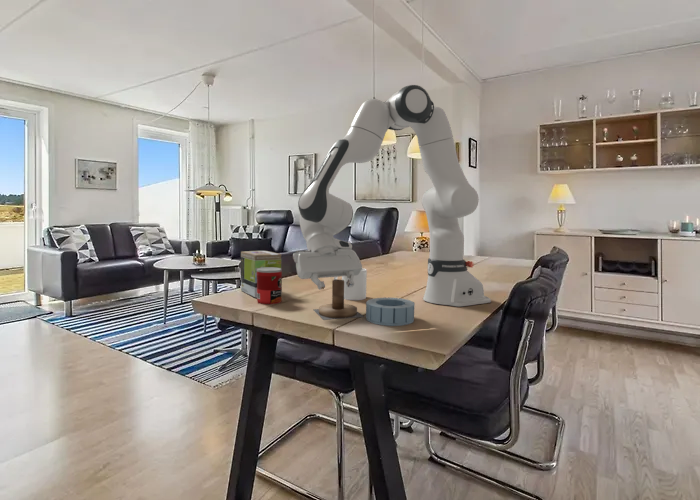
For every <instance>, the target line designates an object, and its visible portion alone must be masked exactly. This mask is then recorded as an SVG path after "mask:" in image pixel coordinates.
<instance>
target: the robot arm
mask: <svg viewBox="0 0 700 500" xmlns="http://www.w3.org/2000/svg"><path fill="white" fill-rule="evenodd" d="M409 127H410V128H412V130H413V131H414V133H415V135H416V137H417V138H416V139H417V145H418V149H419V154H420V158H421V162H422V166H423V170H424V172H425V173H426V174H427V176H428V177H429V178H430V180H431V183H432V184H433V185H432V187H430V188H428V189H427V190H426V191H425V192H424V193H423V194H422V198H421V205H422V208H423V210H424V211H425V214H426V215H425V216H426V221H427V225H428V231H429V255H428V259H427V281H426V288H425V291H424V294H423V298H422V300H423V301H425V302H427V303H431V304H437V305H444V306H452V307H457V308H458V307H467V306H468V307H469V306H474V305H480V304H481V305H482V304H487V303H488V304H489V303H491V302H492V300H491V298H490V297H489V296H486V295H485V289H484V286H483V283H482V282H481V281H480V280H479V279H478V278H477V277H476V276H474V275H473V274H472V273H471V272H470V271H469V270H468V268H473V267H474V265H475V263H474V262H473V261H471V260H467V261H466V260H465V259H464V250H465V249H464V247H465V245H464V243H465V236H464V233H463V232H462V230H461V228H460V224H459V220H458V219H460V218H464V217H467V216H469V215H471V214H473V213H474V212H475V211H476V210H477V208H478V206H479V200H480V199H479V194H478V192H477V190H476V189H475V188H474V187H473V186H472V185H471V184H470V183H469V181H468V179H467V178H466V175H465V174H464V172H463V170H462V167H461V165H460V162H459V159H458V154H457V149H456V145H455V141H454V136H453V132H452V129H451V124H450V122H449V118H448V115H447V114H446V112H445V111H444V109H443V108H441V107H439V106H435V104H434V102H433V100H432V99H431V97H430V95H429V93H428V92H427V90H426V89H425V88H424V87H423V86H421V85H418V84H409V85H406V86H404V87H402V88H401V89H399V90H398V91H396V92H394V93H393V94H392V95H391V96H390V97H389V98H388V99H386V100H385V101H383V100H380V99H377V98H369V99H366V100H365V101H363V103H361V105H360V107H359V108H358V110H357V112H356V114H355V115H354V117H353V118H352V121H351V123H350V126H349V128H348V130H347V132H346V134H345V135H344V137H343V138H341V139H337V141H336V140H335V142H334V143H333V145H332V146H331V147H330V149H329V150H328V152H327V154H326V155H325V157H324V158H323V160H322V162H321V164H320V165H319V167H318V169H317V170H316V172H315V174H314V176H313V178H312V180H311V181H310V183H309V184H308V186H307V187H306V188H305V190H303V192H302V193H301V195H300V196H299V198H298V202H297V203H298V205H297V207H298V212H299V227H300V230H301V231H300V232H301V235H302V236H303V239H304V241H305V242H306V248H307V249H305V250H296V251H295V252H293V254H292V259H293V261H294V263H295V268H296V274H297V277H298V278H299V279H300V280H307V279H310V280H311V282H312V283H313V284H314V285H316V286H317V289H318V290H325V288H326V284H325V281H324V280H320V279H322V278H334V277H337V278H339V277H342V276H347V278H349V279H348V281H347V283H346V284H347V285H348V287H353V286H354V282H353V277H354V276H355V275H358V274H359V273H360V271H361V269H362V268H363V264H362V262H361V260H360V258H359V256H358V254H357V253H356V251H355V250H354V249H352V248H353V245H352V243H351V242H349V241H344V240H341V239H338V238H336V237H334V236H336V235H338V234H340V233H341V232H343V231H344V230H346V229H347V228H348V227H349V226H350V225H351V223H352V221H353V219H354V218H353V217H354V211H353V207H352V205H351V204H350V203H349V202H347V201H346V200H344V199H341V198H340V197H337V196H335V195H333V194H332V193H330V188H331V186H332V184H333V183H334V180H335V179H336V177H337V175H338V174H339V172H340V170H341V168H343V166H345V165H347V164H352V163H355V164H365V163H368V162H370V161H372V160H373V159H375V157H376V156H377V155H378V153H379V152H380V149H381V146H382V144H383V141H384V139H385V137H386V133H387V132H388V130H391V131H401V130H404V129H407V128H409Z"/></svg>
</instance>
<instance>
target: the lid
mask: <svg viewBox="0 0 700 500" xmlns="http://www.w3.org/2000/svg"><path fill="white" fill-rule="evenodd" d="M331 282H332V283H331V284H332V288H331V289H332V290H331V291H332V292H331V293H332V294H331V299H332V300H331V303H329V304H328V303H325V304H322V305H320V306H319V307H318V309H319V314H320V315H321V316H324V317H330V318H345V319H348V318H347V317H352V316H355V315H356V314H357V312H358V308H357V306H355V305H353V304H350V303H349V304H348V303H345V299H344V280H342V279H337V280H334V279H332V281H331Z"/></svg>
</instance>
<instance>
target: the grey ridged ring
mask: <svg viewBox="0 0 700 500" xmlns="http://www.w3.org/2000/svg"><path fill="white" fill-rule="evenodd" d="M415 304H416V303H415V302H414V301H412V300H410V299H405V298H399V297H385V296H384V297H376V298H370V299H368V300H367V301H366V302H365V318H366V321H368V322H369V323H371V324H374V325H379V326H389V327H398V326H400V327H401V326H407V325H410V324H412V323H414V322H415V321H414V320H415V307H416V306H415Z"/></svg>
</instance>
